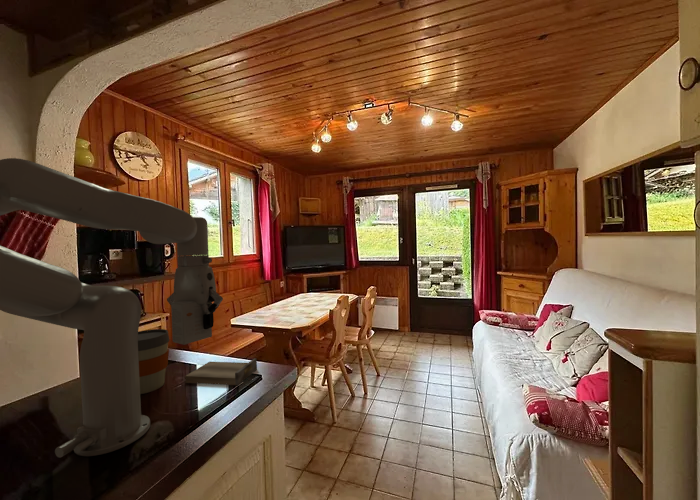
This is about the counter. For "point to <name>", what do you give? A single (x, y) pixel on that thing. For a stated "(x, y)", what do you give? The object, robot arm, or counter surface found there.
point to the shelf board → (222, 373)
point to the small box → (188, 322)
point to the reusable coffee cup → (152, 358)
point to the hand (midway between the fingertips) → (195, 327)
